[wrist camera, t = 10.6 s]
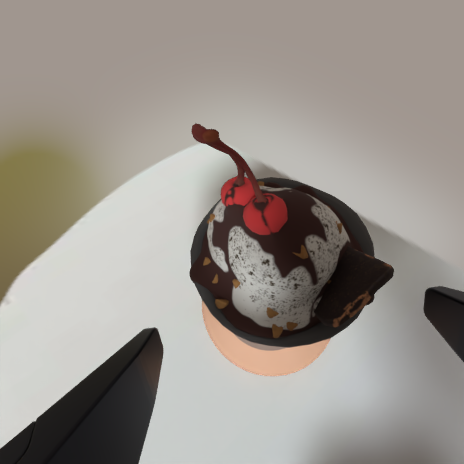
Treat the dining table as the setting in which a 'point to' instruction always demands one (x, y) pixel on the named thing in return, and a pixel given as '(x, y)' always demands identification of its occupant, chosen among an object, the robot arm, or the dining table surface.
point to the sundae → (282, 258)
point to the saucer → (260, 351)
